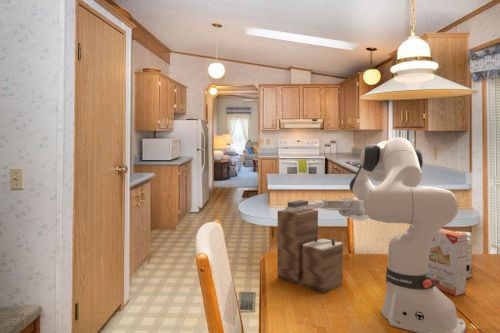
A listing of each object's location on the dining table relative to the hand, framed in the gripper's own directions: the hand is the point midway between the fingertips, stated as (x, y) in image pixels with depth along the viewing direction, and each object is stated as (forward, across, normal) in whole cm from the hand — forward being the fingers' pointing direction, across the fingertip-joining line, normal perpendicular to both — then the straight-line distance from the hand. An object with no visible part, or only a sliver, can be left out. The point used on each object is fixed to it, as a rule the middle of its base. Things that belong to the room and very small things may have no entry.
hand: (332, 202), depth 162 cm
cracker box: (-9, +42, +30) cm, 52 cm away
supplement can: (-26, +43, +24) cm, 56 cm away
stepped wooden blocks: (+17, +3, +33) cm, 38 cm away
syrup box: (-38, +41, +21) cm, 59 cm away
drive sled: (+20, +1, +6) cm, 21 cm away
